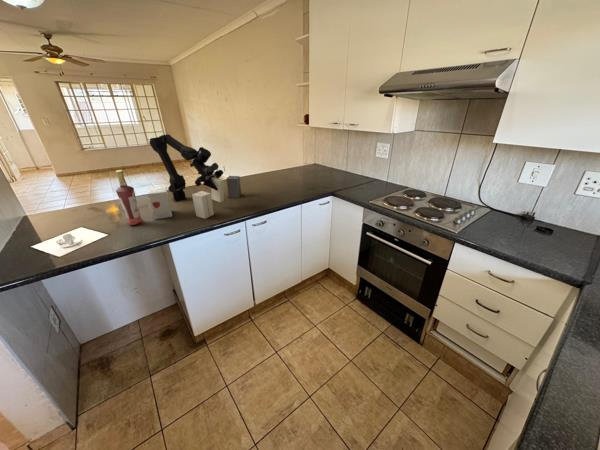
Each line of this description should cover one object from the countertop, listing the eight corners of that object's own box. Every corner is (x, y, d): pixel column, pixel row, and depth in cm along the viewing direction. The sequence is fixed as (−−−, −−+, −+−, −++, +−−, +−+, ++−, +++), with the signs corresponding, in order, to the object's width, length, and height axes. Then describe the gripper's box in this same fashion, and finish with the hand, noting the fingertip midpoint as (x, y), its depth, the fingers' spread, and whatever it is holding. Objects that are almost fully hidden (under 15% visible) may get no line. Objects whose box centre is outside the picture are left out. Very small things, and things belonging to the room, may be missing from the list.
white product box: (154, 220, 133) (147, 193, 126) (154, 213, 140) (147, 188, 133) (172, 216, 137) (166, 191, 130) (172, 211, 144) (166, 186, 137)
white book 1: (205, 218, 135) (201, 196, 129) (196, 216, 138) (191, 194, 132) (209, 216, 138) (205, 195, 132) (200, 214, 141) (196, 192, 135)
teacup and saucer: (53, 245, 108) (49, 237, 107) (73, 237, 115) (70, 229, 113) (66, 249, 106) (62, 241, 104) (86, 240, 112) (82, 233, 111)
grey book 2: (240, 195, 168) (238, 177, 162) (230, 195, 169) (227, 177, 163) (241, 194, 171) (239, 176, 165) (231, 194, 171) (229, 175, 165)
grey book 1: (238, 197, 165) (236, 178, 159) (228, 197, 165) (226, 178, 159) (239, 196, 168) (238, 177, 162) (229, 195, 168) (227, 177, 162)
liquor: (141, 225, 127) (125, 172, 114) (125, 227, 125) (106, 173, 112) (145, 219, 133) (130, 168, 120) (130, 221, 131) (112, 169, 118)
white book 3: (220, 202, 144) (220, 181, 138) (211, 199, 146) (210, 178, 141) (223, 201, 146) (223, 180, 140) (215, 197, 149) (214, 177, 143)
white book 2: (210, 216, 138) (206, 194, 132) (200, 213, 141) (197, 192, 135) (213, 214, 141) (210, 193, 135) (205, 212, 143) (201, 190, 137)
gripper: (195, 162, 129) (214, 185, 130) (219, 155, 144) (236, 176, 146) (186, 174, 136) (205, 197, 137) (210, 167, 151) (227, 187, 152)
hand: (219, 189), depth 143 cm, fingers closed on white book 3, 3 cm apart
